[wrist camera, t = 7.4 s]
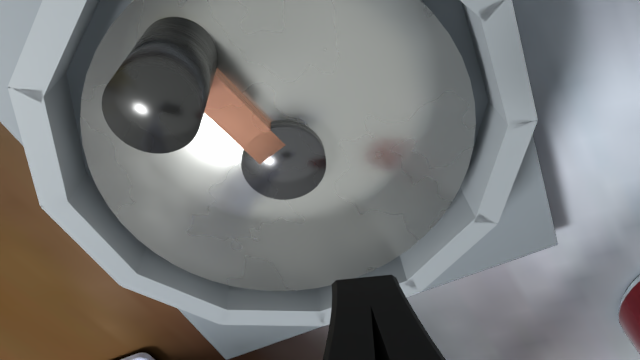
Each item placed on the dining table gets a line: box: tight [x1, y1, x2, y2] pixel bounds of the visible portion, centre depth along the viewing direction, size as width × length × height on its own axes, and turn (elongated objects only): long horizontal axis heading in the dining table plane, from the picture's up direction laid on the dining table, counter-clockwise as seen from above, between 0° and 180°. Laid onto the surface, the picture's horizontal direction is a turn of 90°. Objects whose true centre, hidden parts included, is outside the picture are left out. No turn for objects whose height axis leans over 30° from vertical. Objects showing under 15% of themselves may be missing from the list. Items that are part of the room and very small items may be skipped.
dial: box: [80, 0, 476, 291], centre depth 17 cm, size 14×14×5 cm
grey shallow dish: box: [0, 0, 558, 360], centre depth 19 cm, size 18×22×3 cm
